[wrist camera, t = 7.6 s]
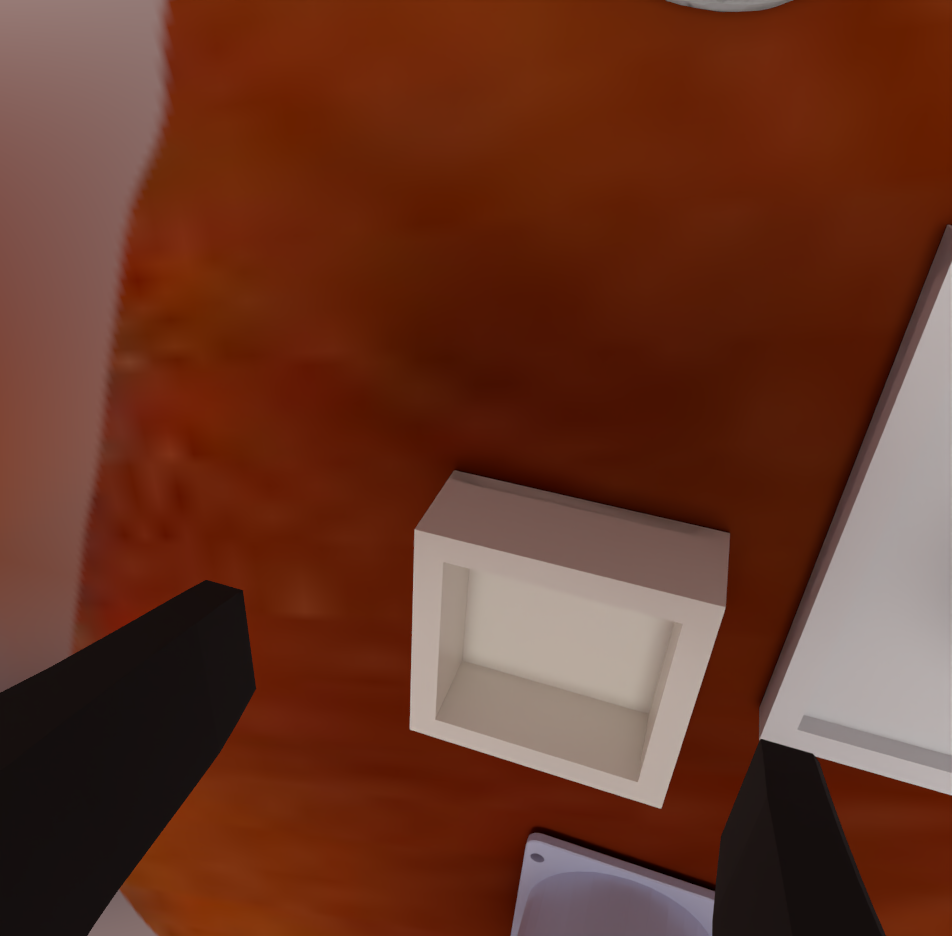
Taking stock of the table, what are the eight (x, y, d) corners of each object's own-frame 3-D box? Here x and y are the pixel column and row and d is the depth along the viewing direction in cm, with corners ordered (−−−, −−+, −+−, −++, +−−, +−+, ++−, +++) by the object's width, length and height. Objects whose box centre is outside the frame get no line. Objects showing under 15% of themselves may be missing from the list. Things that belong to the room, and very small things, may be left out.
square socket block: (671, 726, 24) (661, 809, 21) (443, 660, 25) (409, 729, 23) (730, 533, 20) (725, 607, 17) (454, 470, 21) (414, 529, 19)
